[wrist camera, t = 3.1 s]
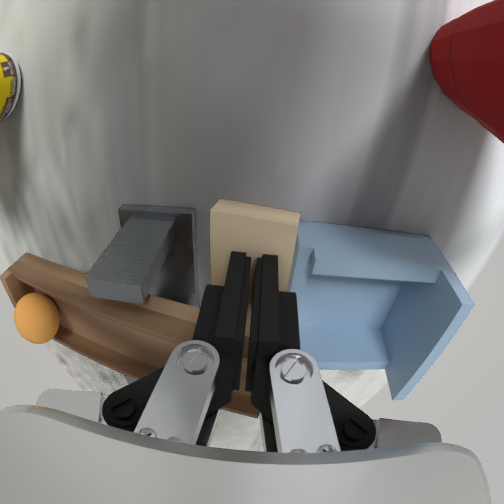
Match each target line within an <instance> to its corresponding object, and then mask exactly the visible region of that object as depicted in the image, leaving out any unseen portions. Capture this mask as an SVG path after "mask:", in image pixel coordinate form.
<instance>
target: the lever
mask: <svg viewBox="0 0 504 504" xmlns="http://www.w3.org/2000/svg"><path fill="white" fill-rule="evenodd" d="M300 216H301V213H299V212H294V211H289V210H283V209H278V208H272V207H267V206H261V205H255V204H250V203H244V202H238V201H232V200H226V199H219V200H218V201H217V203H216V204H215V205H214V206H213V207H212V208H211V210H210V266H211V285H219V286H224V285H225V280H226V275H227V270H228V265H229V260H230V255H231V251H237V252H246V256H248V257H252V259H251V271H250V283H249V295H248V307H247V318H246V328H245V338H244V348H243V358H242V368H241V378H240V388H239V391H238V390H233V396H232V398H231V402H230V403H228V404H227V405H225V406H224V407H222V408H221V409H223V410H227V411H230V412H234V413H238V414H242V415H246V416H250V417H254V418H258V417H259V413H260V412H259V411H258V410H257V409H256V408H255V407H254V406H253V405H252V404H251V400H250V396H251V392H249V391H245V383H246V372H247V360H248V348H249V337H250V325H251V313H252V303H253V293H254V283H255V272H256V262H257V257H259V258H263V254H270V255H278V278H279V291H286V292H287V289H288V284H289V278H290V273H291V268H292V262H293V257H294V251H295V246H296V240H297V234H298V228H299V222H300ZM86 276H87V274H85V273H82V272H79V271H76V270H73V269H70V268H67V267H65V266H62V265H59V264H56V263H54V262H51V261H48V260H45V259H43V258H40V257H37V256H35V255H32V254H30V253H27V252H26V253H25V254H24V255H23V256H22V257H20V258H19V259H18V260H17V261H16V262H15V263H14V264H12V265H11V266H10V267H9V268H8V269H7V270H6V271H5V272H4V273H3V274H1V275H0V279H1V281H2V283H3V286H4V288H5V290H6V292H7V293H8V296H9V298H10V300H11V302H12V304H13V305H14V307H16V305H17V303H18V301H19V300H20V299H21V298H22V297H23V296H24V295H26V294H29V293H34V292H36V293H41V294H44V295H46V296H47V297H49V298H50V299H51V300H52V301H53V302H54V304H55V305H56V307H57V310H58V313H59V327H58V330H57V333H56V334H55V336H54V337H53V338H52V339H54V340H55V341H57V342H59V343H61V344H63V345H64V346H66V347H68V348H70V349H72V350H74V351H76V352H78V353H80V354H82V355H84V356H86V357H88V358H90V359H92V360H94V361H96V362H98V363H100V364H102V365H104V366H107V367H109V368H111V369H113V370H115V371H118V372H120V373H122V374H124V375H127V376H129V377H132V378H134V379H136V380H139V379H141V378H143V377H145V376H147V375H149V374H150V373H152V372H154V371H156V370H158V369H160V368H162V367H164V366H165V365H166V363H167V361H168V359H169V357H170V355H171V353H172V352H173V350H174V349H175V348H176V347H177V346H178V345H180V344H181V343H184V342H186V341H191V340H192V338H193V334H194V330H195V327H196V323H197V319H198V315H199V311H200V308H197V307H193V306H190V305H186V304H182V303H179V302H175V301H172V300H168V299H165V298H161V297H158V296H154V295H151V294H149V295H148V297H147V299H146V302H145V304H144V305H141V304H135V303H128V302H122V301H116V300H110V299H104V298H99V297H93V296H91V294H90V291H89V288H88V285H87V282H86V279H85V277H86Z"/></svg>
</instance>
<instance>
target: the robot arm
mask: <svg viewBox="0 0 504 504" xmlns="http://www.w3.org/2000/svg"><path fill="white" fill-rule="evenodd" d="M251 259H252V257H248V256H246V252H237V251H231V255H230V260H229V265H228V270H227V275H226V280H225V285H224V286H219V285H209V284H207V286H206V289H205V292H204V296H203V300H202V304H201V307H200V311H199V315H198V319H197V323H196V327H195V330H194V334H193V338H192V340H191V341H186V342H184V343H181V344H180V345H178V346H177V347H176V348H175V349H174V350H173V352H172V353H171V355H170V357H169V359H168V361H167V363H166V365H165V366H164V367H162V368H160V369H158V370H156V371H154V372H152V373H150V374H149V375H147V376H145V377H143V378H141V379H139V380H137V381H135V382H133V383H131V384H129V385H127V386H125V387H123V388H121V389H119V390H117V391H115V392H113V393H112V394H110V395H102V393H101V392H85V391H72V390H60V389H48V390H46V391H44V392H43V393H42V394H41V395H40V396H39V398H38V400H37V403H36V405H16V406H11V407H7V408H5V409H3V410H1V411H0V504H491V498H490V492H489V487H488V483H487V479H486V476H485V473H484V469H483V467H482V464H481V462H480V460H479V459H478V457H477V456H476V455H475V454H474V453H473V452H471V451H470V450H469V449H466V448H464V447H461V446H458V445H454V444H448V443H441V435H440V432H439V430H438V429H437V428H436V427H435V426H434V425H432V424H429V423H422V422H409V421H401V420H392V419H384V418H380V419H379V420H373V419H371V418H370V417H369V416H368V415H367V414H365V413H364V412H363V411H361V410H360V409H359V408H357V407H356V406H355V405H354V404H352V403H351V402H350V401H348V400H347V399H346V398H344V397H343V396H342V395H341V394H339V393H338V392H337V391H335V390H334V389H333V388H332V387H330V386H329V385H328V384H326V383H325V382H324V381H323V380H322V378H321V374H320V371H319V367H318V365H317V363H316V360H315V359H314V358H313V357H312V356H311V355H309V354H308V353H306V352H304V351H301V350H300V335H299V320H298V307H297V296H296V292H286V291H279V278H278V255H270V254H263V258H259V257H257V262H256V272H255V283H254V293H253V303H252V313H251V325H250V337H249V348H248V360H247V372H246V383H245V391H249V392H251V396H250V400H251V404H252V405H253V406H254V407H255V408H256V409H257V410H258V411H259V412H260V414H259V416H260V425H261V433H262V441H263V449H264V452H256V451H243V450H232V449H222V448H214V447H209V446H210V443H211V440H212V436H213V433H214V430H215V427H216V424H217V421H218V418H219V415H220V411H221V408H222V407H224V406H225V405H227V404H228V403H230V402H231V398H232V396H233V390H238V391H239V388H240V378H241V368H242V358H243V348H244V338H245V328H246V318H247V307H248V295H249V283H250V271H251Z"/></svg>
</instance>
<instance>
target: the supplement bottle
mask: <svg viewBox="0 0 504 504" xmlns="http://www.w3.org/2000/svg"><path fill="white" fill-rule="evenodd" d="M20 87H21V75H20V69H19V66H18V63H17V61H16V60H15V59H14V57H12V56H11V55H10V54H7V53H0V122H1V121H3V120H4V119H6V118H7V117H8V116H9V115H10V114H11V112H12V111H13V109H14V107H15V105H16V103H17V100H18V97H19V93H20Z"/></svg>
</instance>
